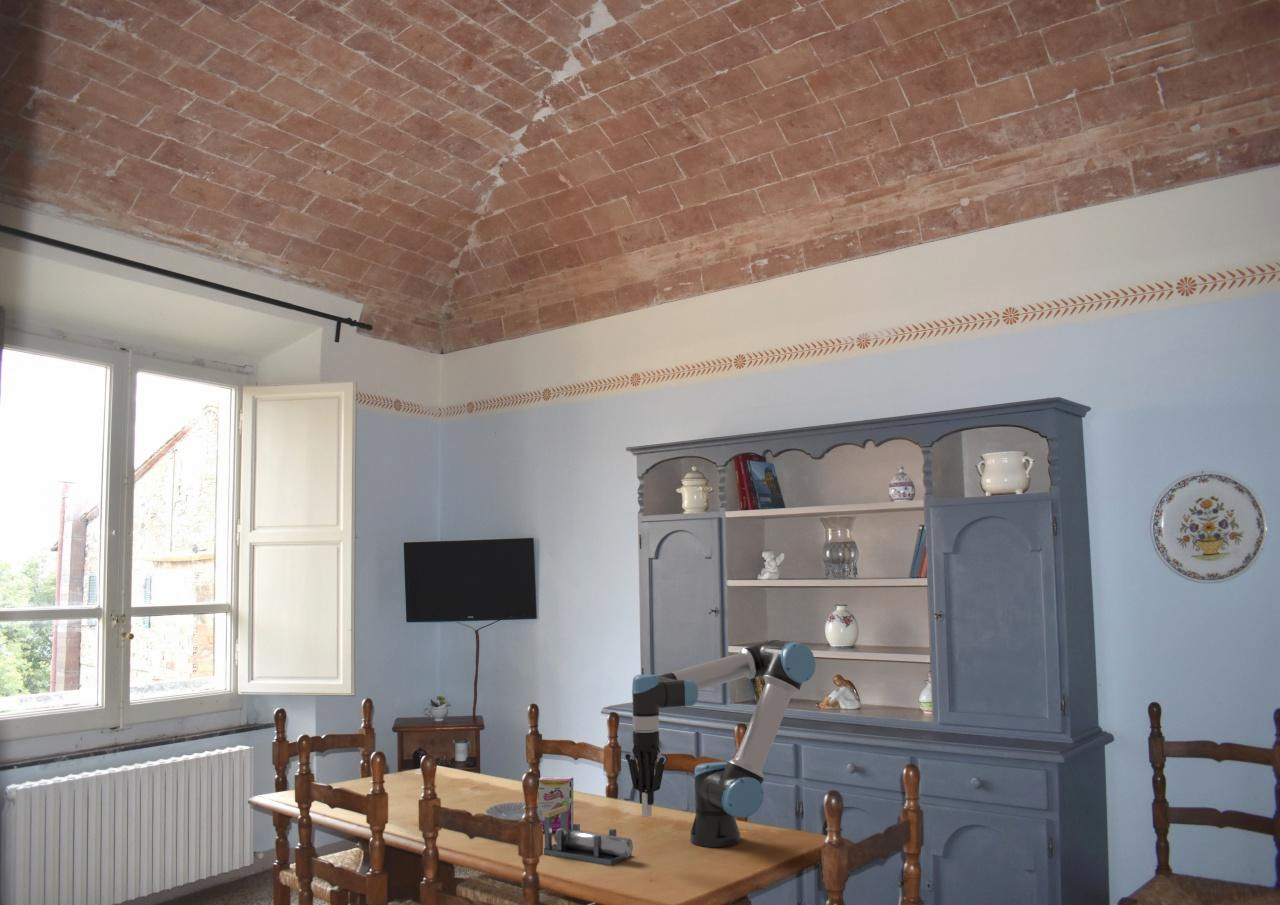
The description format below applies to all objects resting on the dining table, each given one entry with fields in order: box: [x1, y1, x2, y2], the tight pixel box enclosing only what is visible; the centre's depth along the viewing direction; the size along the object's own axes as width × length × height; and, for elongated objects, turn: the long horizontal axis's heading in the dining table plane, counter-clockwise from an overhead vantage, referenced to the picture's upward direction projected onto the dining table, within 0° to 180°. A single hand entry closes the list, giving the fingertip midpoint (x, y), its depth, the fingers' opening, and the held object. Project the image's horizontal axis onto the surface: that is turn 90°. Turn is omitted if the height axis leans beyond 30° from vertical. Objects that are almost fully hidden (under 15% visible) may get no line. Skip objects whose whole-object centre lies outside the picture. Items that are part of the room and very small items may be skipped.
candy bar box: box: [538, 776, 575, 833], centre depth 325 cm, size 11×5×16 cm, turn 84°
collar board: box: [543, 806, 633, 866], centre depth 297 cm, size 24×11×12 cm, turn 58°
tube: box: [554, 828, 634, 858], centre depth 295 cm, size 24×5×5 cm, turn 58°
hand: (646, 815), depth 286 cm, fingers closed
